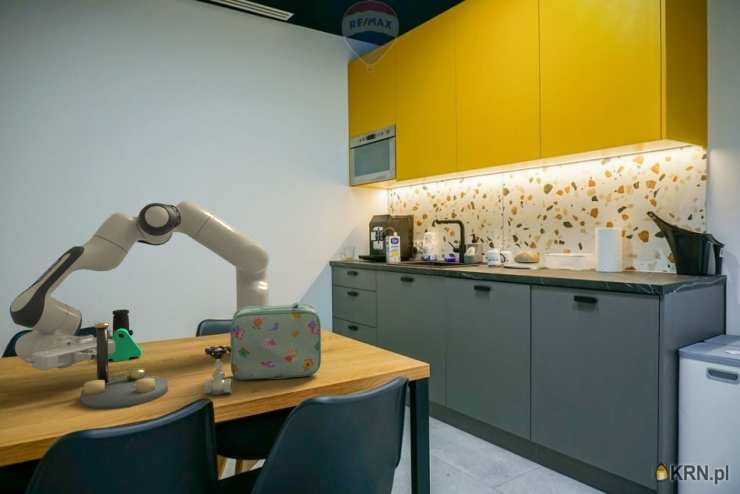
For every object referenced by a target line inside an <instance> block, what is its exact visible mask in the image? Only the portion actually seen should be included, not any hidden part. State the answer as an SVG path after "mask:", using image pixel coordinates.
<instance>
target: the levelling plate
mask: <svg viewBox="0 0 740 494" xmlns="http://www.w3.org/2000/svg"><path fill="white" fill-rule="evenodd" d="M168 383H169V382H168V380H167V379H166V378H163V377H162V376H156V375H145V378H143V379H139V380H127V377H121V378H116V379H110V380H109V382H108V383H105V381H104V380H97V379H94V380H90V381H87V382H84V385H83V387H84V389H83V390H82V391H81V392H80V404H81V405H82V406H83V407H86V408H91V409H98V408H100V409H101V410H102V409H105V410H107V409H106V408H108V409H118V408H120V409H121V408H126V407H127V406H128V407H132V405H133V406H137V405H142V404H146V403H148V402H149V403H150V402H152V401H155V400H156V399H159V398H161V397H163V396H164V395H165V394H167V393H168V391H169V385H168ZM154 399H155V400H154ZM128 407H127V408H128Z"/></svg>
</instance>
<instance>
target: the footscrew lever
mask: <svg viewBox="0 0 740 494" xmlns="http://www.w3.org/2000/svg"><path fill="white" fill-rule="evenodd" d="M109 323H110V322H97V323H95V324H94V328H95V331H96V332H95V335H96V336H95V337H96V341H97V359H96V380H104V381H105V383H108V382H109V380H112V379H117V378H123V377H127V380H139V379H143V378H145V376H146V372H145V371H146V369H145V368H144V367H134V368H130V369H126V370H125V371H121V372H120V371H119V372H114V373H109V359H108V336H109V335H108V334H109V328H108V327H110V324H109Z"/></svg>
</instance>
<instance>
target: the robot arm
mask: <svg viewBox="0 0 740 494" xmlns="http://www.w3.org/2000/svg"><path fill="white" fill-rule="evenodd" d="M174 233H181V234H184V235H187V236H188V237H189V238H191V239H192V240H194V241H195V242H197V243H198V244H200V245H201V246H203V247H205V248H206V249H208V250H210V251H211V252H213V253H214V254H216V255H218V256H219V257H221V258H222V259H223V260H225V261H226V262H228V263H229V264H231V265H232V266H234V267H235V273H236V274H235V278H236V279H235V281H236V282H235V284H236V286H235V287H236V312H237V311H238V310H239V309H241V308H244V307H249V306H270V295H269V293H270V292H269V291H270V290H269V278H268V277H269V276H268V265H269V263H270V253H269V250H268V249H267V248H266V247H265V246H264V245H263V244H261V243H260V242H258V241H257V240H255V239H254V238H252V237H251V236H249V235H248V234H246V233H244V232H243V231H241V230H239V229H238V228H236V227H234V226H233V225H231V224H230V223H229V222H227V221H225V220H224V219H222V218H220V216H218V215H216V214H215V213H213V212H212V211H211V210H209V209H207V208H204V206H201V205H199V204H197V203H194V202H192V201H189V200H183V201H181V202H179V203H178V204H177V205H173V204H164V203H161V202H152V203H149V204H146V205H145V206H144V207H142V208H141V210H140V211H139V213H138V216H132V215H130V214H128V213H125V212H115V213H113V214H111V215H110V216H109V217H107V219H105V221H104V222H102V224H101V225H100V226H99V228H98V229H97V230H96V231H95V232H94V234H93V235H92V237H91V238H90V239H89V240H87V241H86V242H85V243H83V244H82V245H79V246H78V245H76V246H75V245H74V246H72V247H71V248H70V249H68V250H67V251H66V252H64V253H63V254H62V255H61V256H60V257H58V258H57V259H56V261H55V262H54V263H52V264H51V266H49V267H48V269H46V271H44V272H43V273H42V274H41V275H40V276H39V277H38V279H36V281H34V283H32V284H31V285H30V286H29V287H28V288H26V289H25V290H24V291H22V292H21V293H20V294H19V295H18V296H16V298H14V299H13V301H12V302H11V304H10V307H9V314H10V317H11V320H12V322H13V324H15V325H18V326H22V327H24V328H28V329H32V331H30V332H28V333H25V334H23V335H21V336H20V337H19V338H18V339H17V340H16V342H15V345H14V350H15V353H16V355H17V357H18V358H19V359H21V361H23V362H24V363H26V364H32V365H31V366H32V367H33V369H36V370H40V371H48V370H53V369H67V368H69V367H72V366H73V365H75V364H77V363H79V362H83V361H88V362H89V361H93V360H97V341H96V336H95V337H94V334H81V335H79V333H80V330H81V328H82V324H83V316H82V313H81V311H80V310H79V309H77V308H75V307H73V306H70V305H69V304H67V303H64V302H63V301H60V300H58V299H56V298H53V297H52V296H51V295H52V294H53V292H54V291H56V289H57V288H58V287H59V286H60V285H61V284H62V283H64V281H65V280H66V278H68V276H69V275H71V274H72V273H74V272H77V271H79V270H80V271H81V270H87V271H93V272H108V271H111V270H114V269H116V268H117V267H118V266H120V265H121V264H122V262H123V261H124V259H125V258H126V256H128V254H129V252H130V251H131V249H132V247H133V246H135V245H134V244H136V243H140V244H145V245H149V246H154V247H155V246H162V245H164V244H166V243H168V242H169V241H170V240H171V238H172V236H173V234H174ZM114 352H115V342H114V340H111V339H108V355H109V354H113V353H114Z"/></svg>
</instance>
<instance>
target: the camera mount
mask: <svg viewBox="0 0 740 494" xmlns="http://www.w3.org/2000/svg"><path fill="white" fill-rule="evenodd" d="M118 334H123V335H124V338H119V337H118ZM111 336H112V338H111V340H114V342H115V352H114V353H113V354H109V355H108V360H111V359H112V362H119V361H129V360H130V359H131V358H133V357H142V353H143V346H139V345H138V344H137V343H136V341H135V340H134V339H133V338H132V337H131V336H130V335H129V333H128V331H127V330H126V329H118V330H117V331H116V332H115V333H114V335H113V334H112V335H111ZM129 358H130V359H129Z"/></svg>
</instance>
